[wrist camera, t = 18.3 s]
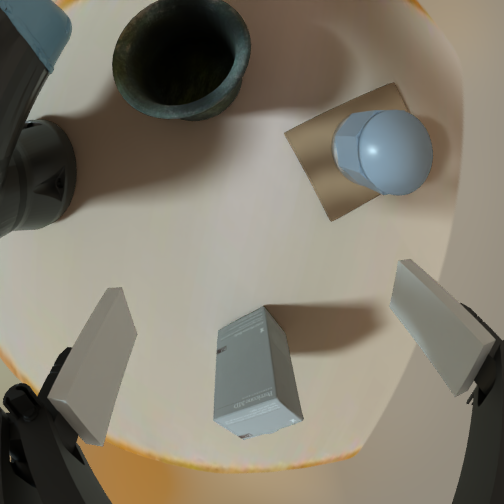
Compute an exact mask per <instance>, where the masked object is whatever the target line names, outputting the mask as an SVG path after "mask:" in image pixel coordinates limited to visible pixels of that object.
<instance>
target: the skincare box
mask: <svg viewBox="0 0 504 504" xmlns="http://www.w3.org/2000/svg"><path fill="white" fill-rule="evenodd" d="M303 419H304V418H303V414H302V410H301V406H300V401H299V397H298V391H297V386H296V382H295V377H294V372H293V367H292V362H291V357H290V352H289V347H288V343H287V338H286V334H285V332H284V331H283V330H282V329H281V327H280V326H279V325H278V324H277V322H276V321H275V320H274V318H273V317H272V316H271V315H270V313H269V312H268V311H267V310H266V308H265V307H264V306H262V307H261V308H259V309H258V310H256V311H254V312H252V313H250V314H248V315H246V316H244V317H242V318H240V319H238V320H237V321H235V322H233V323H231V324H229V325H227V326H226V327H224V328H222V329H220V330H219V331H218V340H217V356H216V375H215V394H214V419H213V421H215V422H216V423H218V424H219V425H221V426H222V427H224V428H226V429H227V430H229V431H230V432H232V433H234V434H235V435H237V436H238V437H240V438H242V439H243V440H245V439H248V438H252V437H255V436H259V435H262V434H270V433H274V432H276V431H278V430H279V429H281V428H284V427H287V426H290V425H293V424H296V423H298V422H301V421H303Z"/></svg>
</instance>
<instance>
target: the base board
mask: <svg viewBox="0 0 504 504" xmlns="http://www.w3.org/2000/svg"><path fill="white" fill-rule="evenodd" d="M373 110H405V111H406V112H408V111H407V109H406V107H405V104H404V102H403V100H402V98H401V96H400V94H399V91H398V89H397V87H396V85H395V83H390V84H387V85H385V86H383V87H380V88H378V89H375V90H373V91H371V92H368V93H366V94H364V95H361V96H359V97H357V98H355V99H352V100H350V101H348V102H346V103H344V104H341V105H339V106H337V107H335V108H333V109H331V110H329V111H327V112H324V113H322V114H320V115H318V116H316V117H314V118H312V119H310V120H308V121H306V122H304V123H302V124H300V125H298V126H296V127H294V128H293V129H291V130H289V131H287V132H285V133H284V135H285V137H286V138H287V140H288V142H289V144H290V145H291V147H292V149H293V151H294V152H295V154H296V156H297V158H298V160H299V162H300V163H301V165H302V167H303V169H304V171H305V173H306V175H307V176H308V178H309V180H310V182H311V184H312V186H313V188H314V190H315V192H316V194H317V196H318V198H319V200H320V202H321V204H322V206H323V208H324V210H325V212H326V214H327V216H328V218H329V220H330V221H331V222H332V221H334V220H336V219H337V218H339V217H341V216H343V215H345V214H346V213H348V212H350V211H352V210H353V209H355V208H357V207H359V206H360V205H362V204H364V203H366V202H368V201H369V200H371V199H373V198H375V197H376V196H378V195H380V193H378V192H376V191H374V190H372V189H369V188H367V187H365V186H361V185H358V184H356V183H353V182H351V181H350V180H348V179H347V178H345V177H344V176H343V175H342V174H341V173H340V171H339V170H338V168H337V167H336V165H335V163H334V160H333V157H332V151H331V144H332V137H333V134H334V131H335V129H336V127H337V126H338V125H339V123H340V122H341V121H342V120H343V119H345V118H346V117H347V116H349V115H351V114H352V113H358V112H365V111H373Z"/></svg>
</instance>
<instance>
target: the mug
mask: <svg viewBox="0 0 504 504" xmlns="http://www.w3.org/2000/svg"><path fill="white" fill-rule="evenodd" d="M250 51H251V42H250V35H249V32H248V29H247V26H246V24H245V22H244V20H243V19H242V17H241V16H240V15H239V14H238V12H237V11H236V10H235V9H234V8H232V7H231V6H230V5H229V4H227V3H225V2H224V1H222V0H158V1H156V2H154V3H152V4H150V5H149V6H147V7H146V8H144V9H143V10H142V11H140V12H139V13H138V14H137V15H136V16H135V17H134V18H132V20H131V21H130V22H129V23H128V24H127V26H126V27H125V28H124V30H123V32H122V33H121V35H120V37H119V39H118V41H117V43H116V46H115V50H114V54H113V62H112V67H113V76H114V80H115V83H116V86H117V88H118V90H119V92H120V94H121V95H122V96H123V98H124V99H125V100H126V101H127V102H128V103H129V104H130V105H131V106H132V107H134V108H135V109H136V110H138V111H140V112H142V113H144V114H146V115H149V116H152V117H156V118H163V119H183V120H188V121H200V120H206V119H209V118H212V117H214V116H216V115H218V114H220V113H221V112H223V111H224V110H225V109H226V108H227V107H229V106H230V104H231V103H232V102H233V101H234V99H235V98H236V96H237V94H238V92H239V90H240V87H241V83H242V77H243V75H244V73H245V71H246V68H247V66H248V62H249V58H250Z"/></svg>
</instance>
